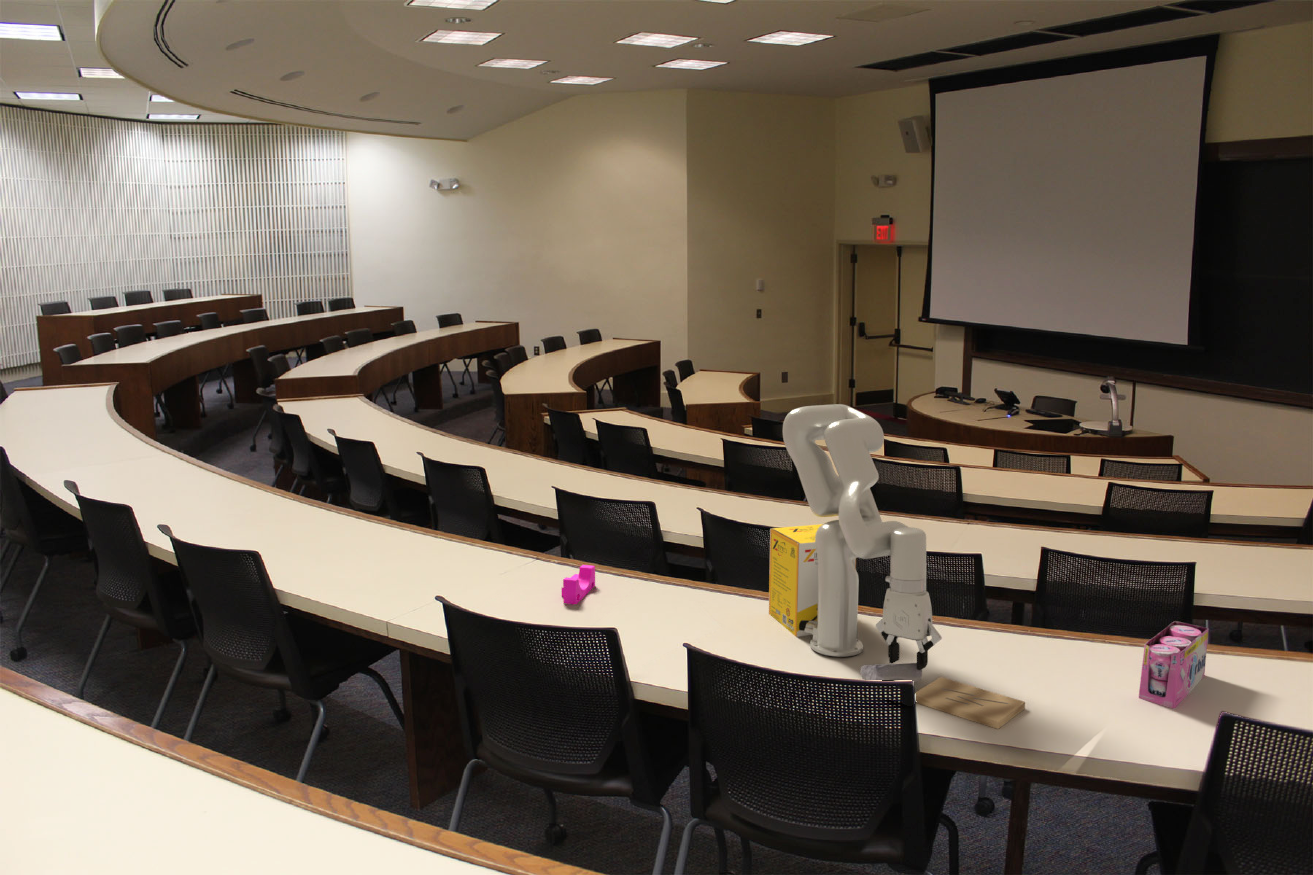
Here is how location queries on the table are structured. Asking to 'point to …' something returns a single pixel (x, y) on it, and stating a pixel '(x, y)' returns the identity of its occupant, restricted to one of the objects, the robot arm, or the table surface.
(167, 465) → the table surface
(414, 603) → the table surface
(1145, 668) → the gum box
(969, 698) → the board
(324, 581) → the table surface
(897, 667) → the stone block
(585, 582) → the toy block
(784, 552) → the packaging box
